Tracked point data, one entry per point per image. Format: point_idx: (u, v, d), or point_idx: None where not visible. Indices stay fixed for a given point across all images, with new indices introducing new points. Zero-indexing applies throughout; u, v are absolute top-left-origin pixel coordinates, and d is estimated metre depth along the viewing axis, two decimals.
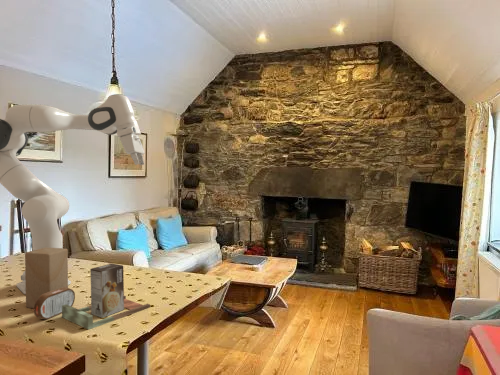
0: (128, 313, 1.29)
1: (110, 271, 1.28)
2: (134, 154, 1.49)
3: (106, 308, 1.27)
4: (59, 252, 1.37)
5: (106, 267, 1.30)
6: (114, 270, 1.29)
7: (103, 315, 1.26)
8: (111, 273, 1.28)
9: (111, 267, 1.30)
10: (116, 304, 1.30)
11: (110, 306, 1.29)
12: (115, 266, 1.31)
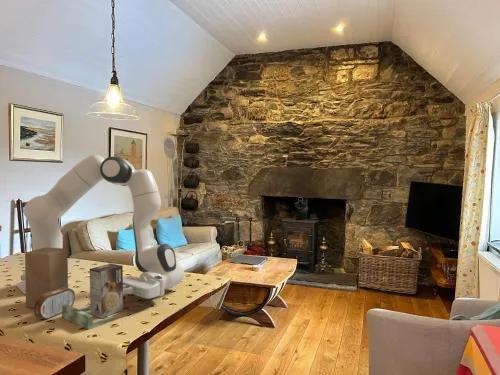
0: (128, 313, 1.29)
1: (109, 271, 1.28)
2: (131, 291, 1.36)
3: (105, 308, 1.27)
4: (59, 252, 1.37)
5: (105, 267, 1.30)
6: (113, 270, 1.29)
7: (102, 315, 1.26)
8: (110, 273, 1.28)
9: (110, 267, 1.30)
10: (115, 305, 1.30)
11: (109, 307, 1.28)
12: (114, 266, 1.31)
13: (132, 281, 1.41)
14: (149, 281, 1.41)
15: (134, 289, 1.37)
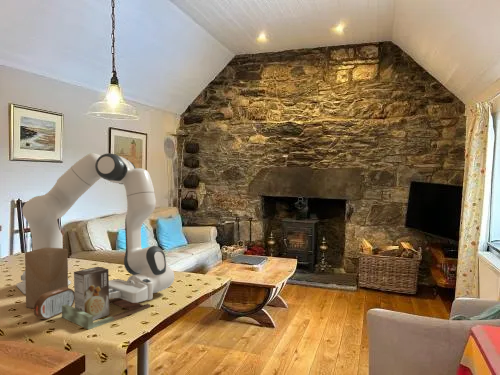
0: (128, 313, 1.29)
1: (93, 274, 1.23)
2: (118, 296, 1.32)
3: (89, 313, 1.23)
4: (59, 252, 1.37)
5: (90, 270, 1.25)
6: (97, 274, 1.24)
7: None
8: (94, 277, 1.24)
9: (95, 270, 1.25)
10: (100, 309, 1.26)
11: (93, 311, 1.24)
12: (100, 269, 1.27)
13: (119, 285, 1.37)
14: (137, 285, 1.36)
15: (121, 293, 1.33)
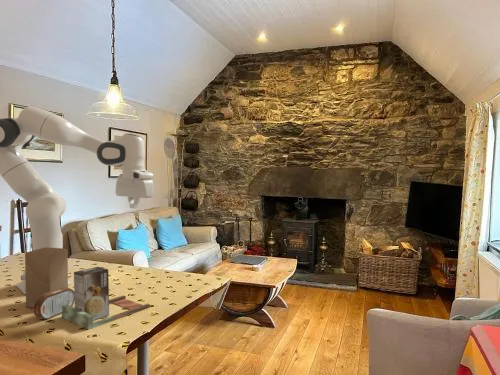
0: (128, 313, 1.29)
1: (93, 274, 1.23)
2: (138, 198, 1.52)
3: (88, 313, 1.23)
4: (59, 252, 1.37)
5: (90, 270, 1.25)
6: (97, 274, 1.24)
7: None
8: (94, 277, 1.24)
9: (95, 271, 1.25)
10: (99, 309, 1.26)
11: (93, 311, 1.24)
12: (99, 270, 1.27)
13: (127, 190, 1.52)
14: (135, 182, 1.48)
15: None
